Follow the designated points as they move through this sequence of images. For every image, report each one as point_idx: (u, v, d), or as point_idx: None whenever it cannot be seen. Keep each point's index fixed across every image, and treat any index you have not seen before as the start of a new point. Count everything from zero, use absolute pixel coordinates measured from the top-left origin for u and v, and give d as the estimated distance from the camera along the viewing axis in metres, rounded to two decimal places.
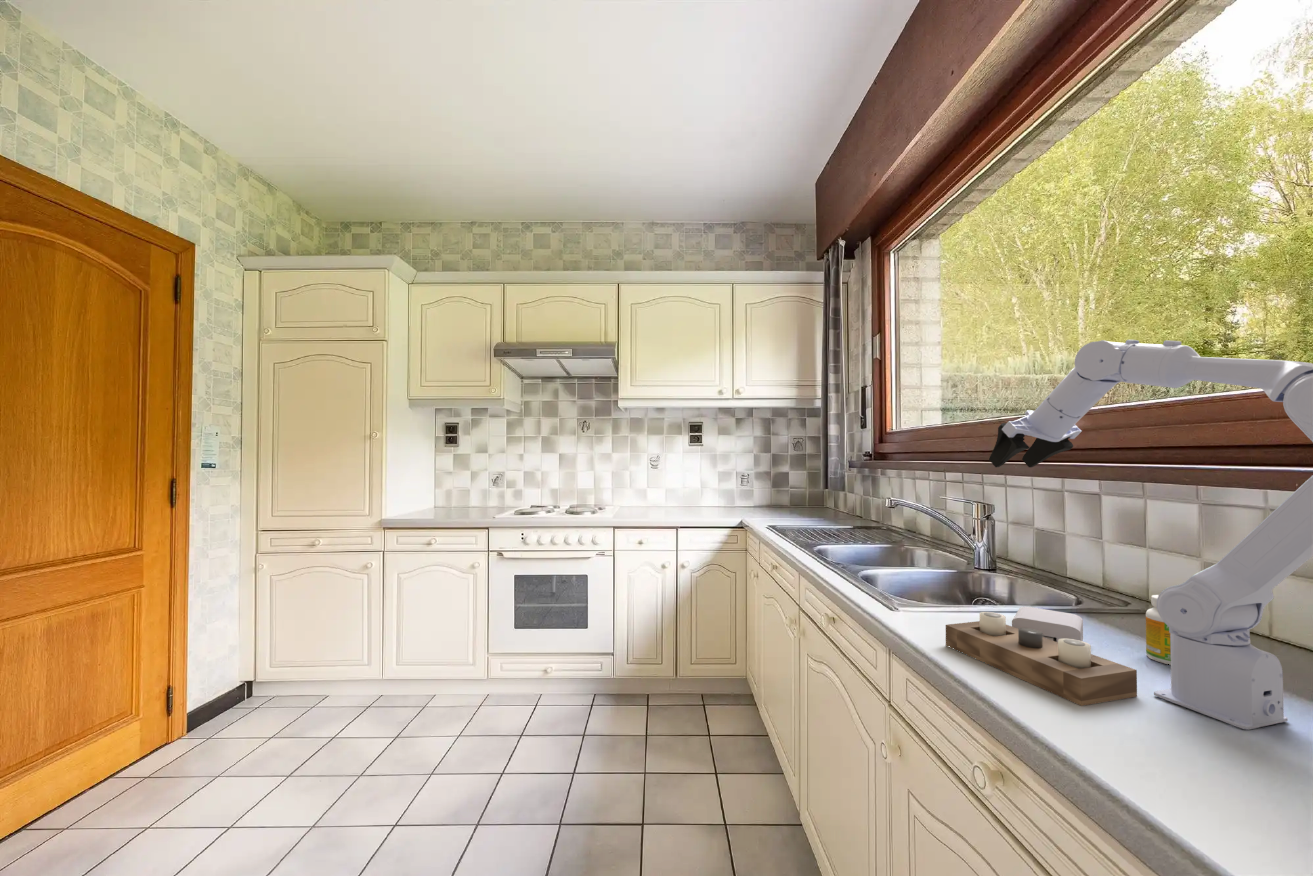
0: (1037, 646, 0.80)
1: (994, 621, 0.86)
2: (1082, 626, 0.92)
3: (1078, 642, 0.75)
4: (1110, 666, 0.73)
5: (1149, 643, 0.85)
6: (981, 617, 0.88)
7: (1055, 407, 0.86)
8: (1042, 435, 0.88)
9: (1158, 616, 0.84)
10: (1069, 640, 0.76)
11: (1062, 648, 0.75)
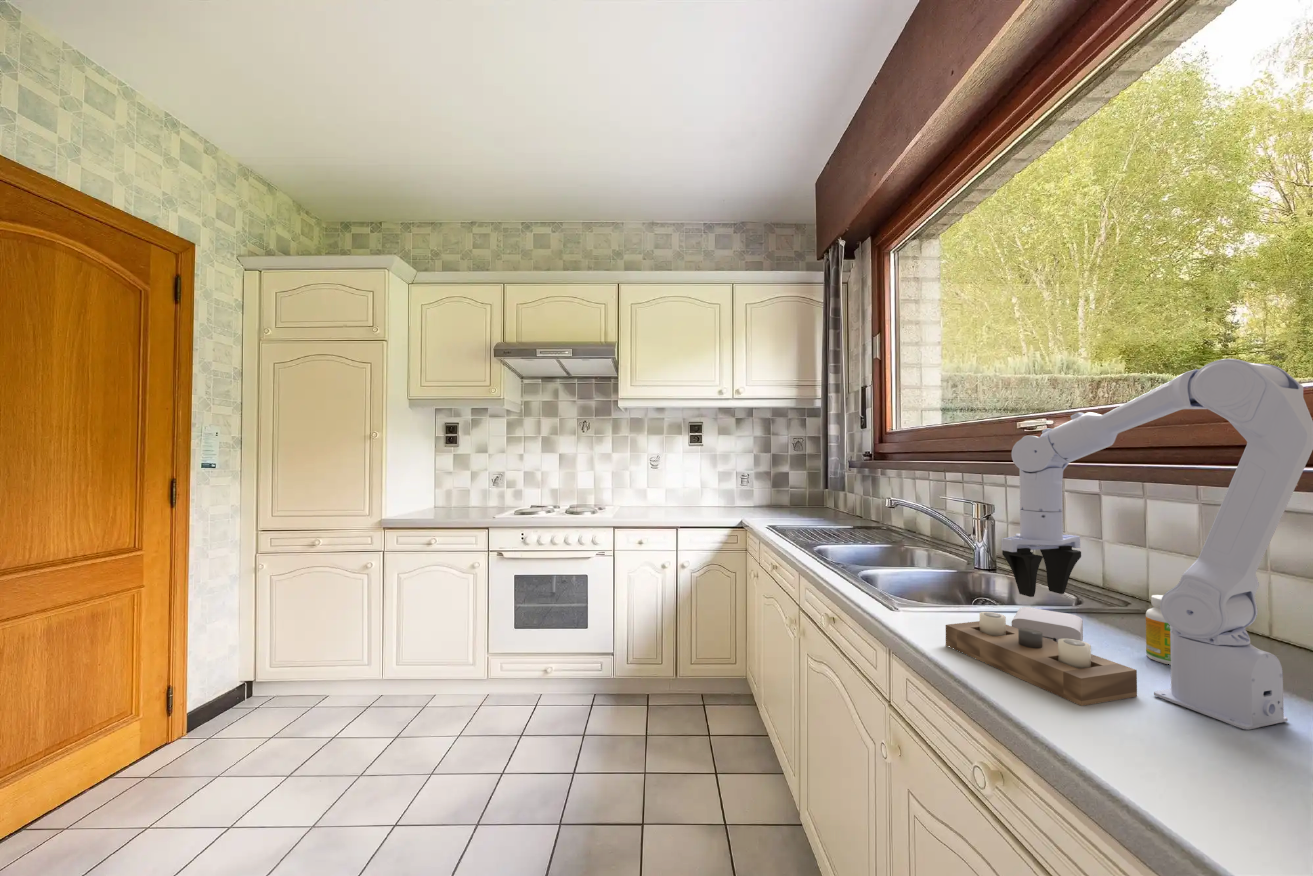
0: (1037, 646, 0.80)
1: (994, 621, 0.86)
2: (1082, 627, 0.91)
3: (1078, 642, 0.75)
4: (1110, 666, 0.73)
5: (1149, 643, 0.85)
6: (981, 617, 0.88)
7: (1031, 509, 0.87)
8: (1041, 540, 0.85)
9: (1158, 616, 0.84)
10: (1069, 640, 0.76)
11: (1062, 648, 0.75)
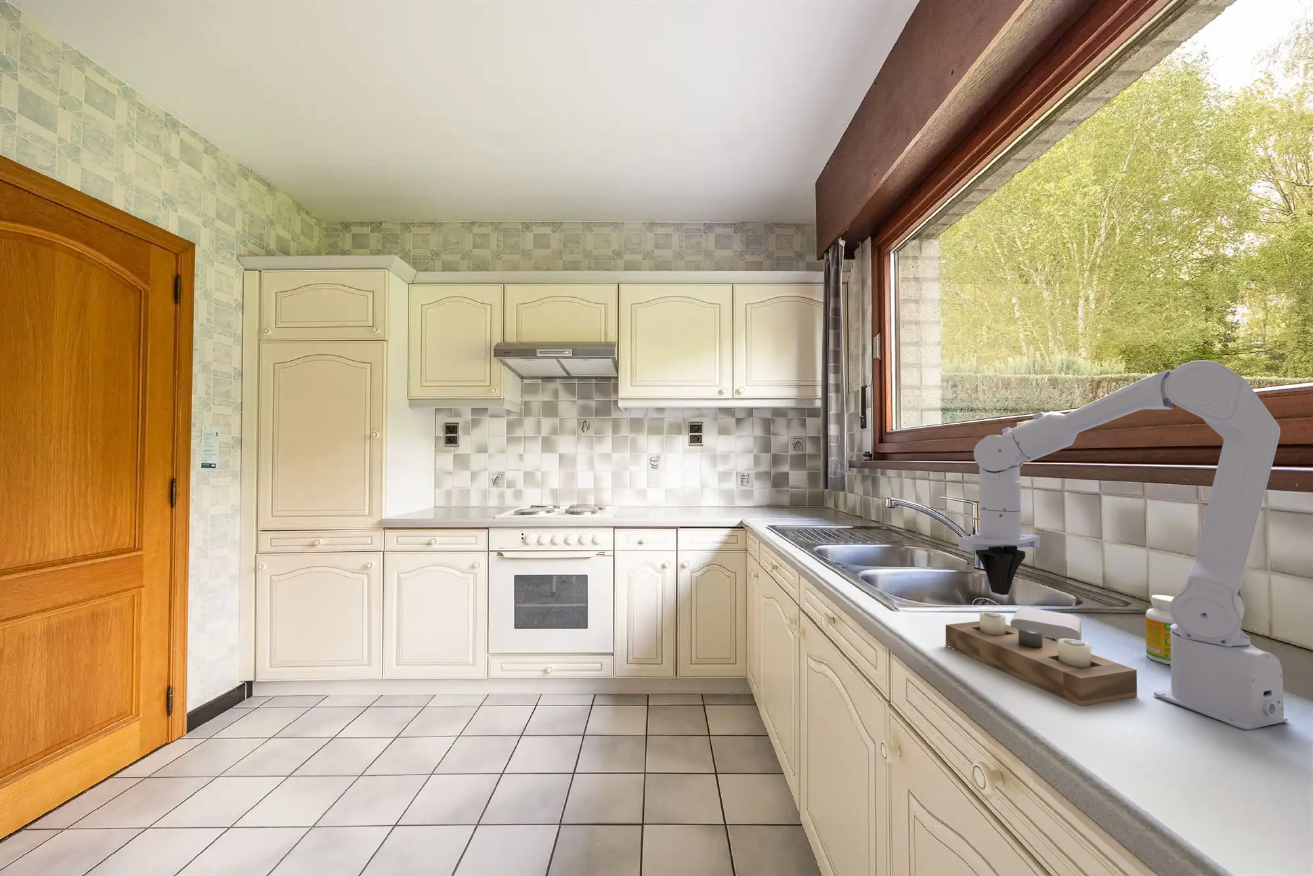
0: (1037, 646, 0.80)
1: (994, 621, 0.86)
2: None
3: (1078, 642, 0.75)
4: (1110, 666, 0.73)
5: (1149, 643, 0.85)
6: (981, 617, 0.88)
7: (989, 509, 0.87)
8: (998, 540, 0.85)
9: (1158, 616, 0.84)
10: (1069, 640, 0.76)
11: (1062, 648, 0.75)
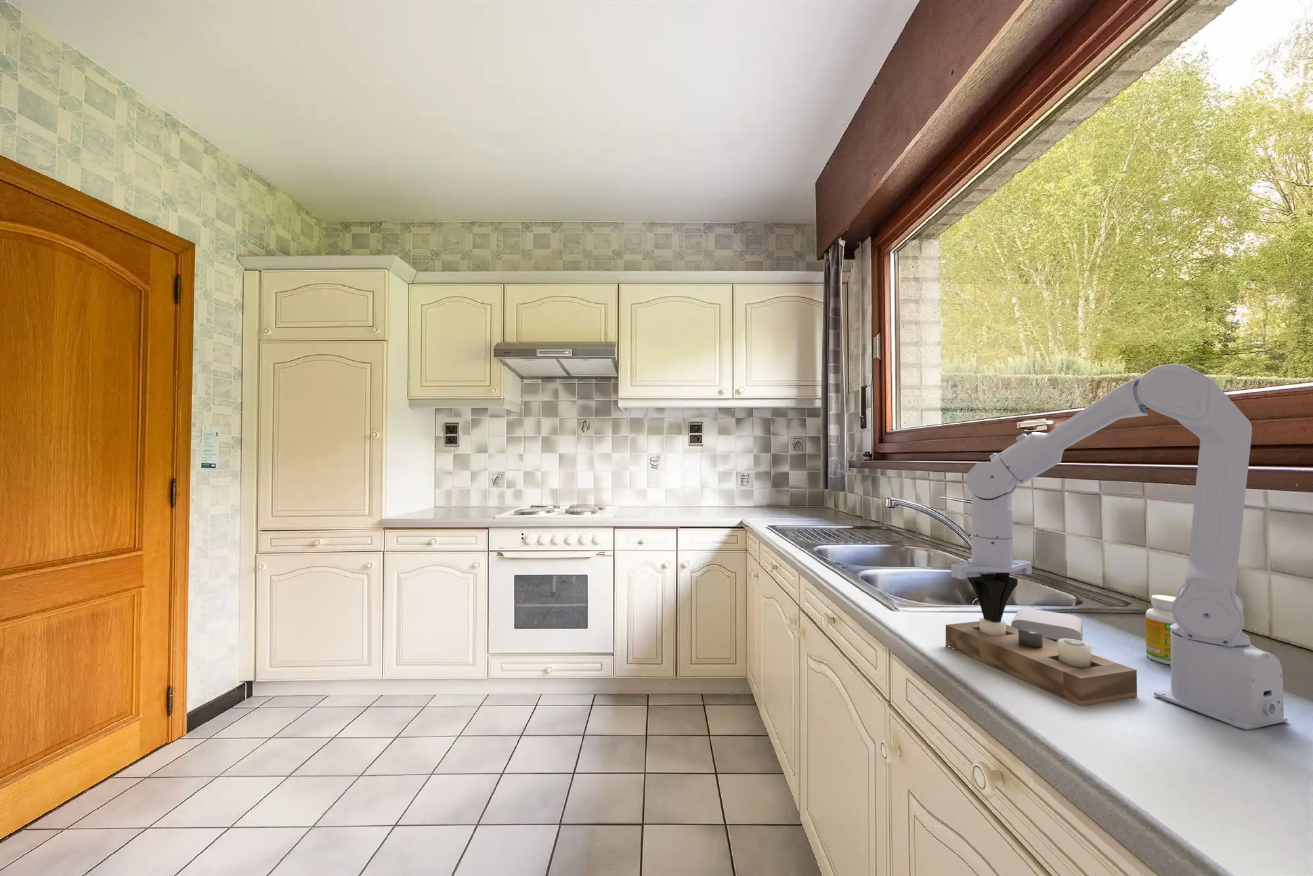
0: (1037, 646, 0.80)
1: (994, 626, 0.86)
2: None
3: (1078, 642, 0.75)
4: (1110, 666, 0.73)
5: (1149, 643, 0.85)
6: (981, 623, 0.88)
7: (981, 536, 0.87)
8: (990, 568, 0.85)
9: (1158, 616, 0.84)
10: (1069, 640, 0.76)
11: (1062, 648, 0.75)
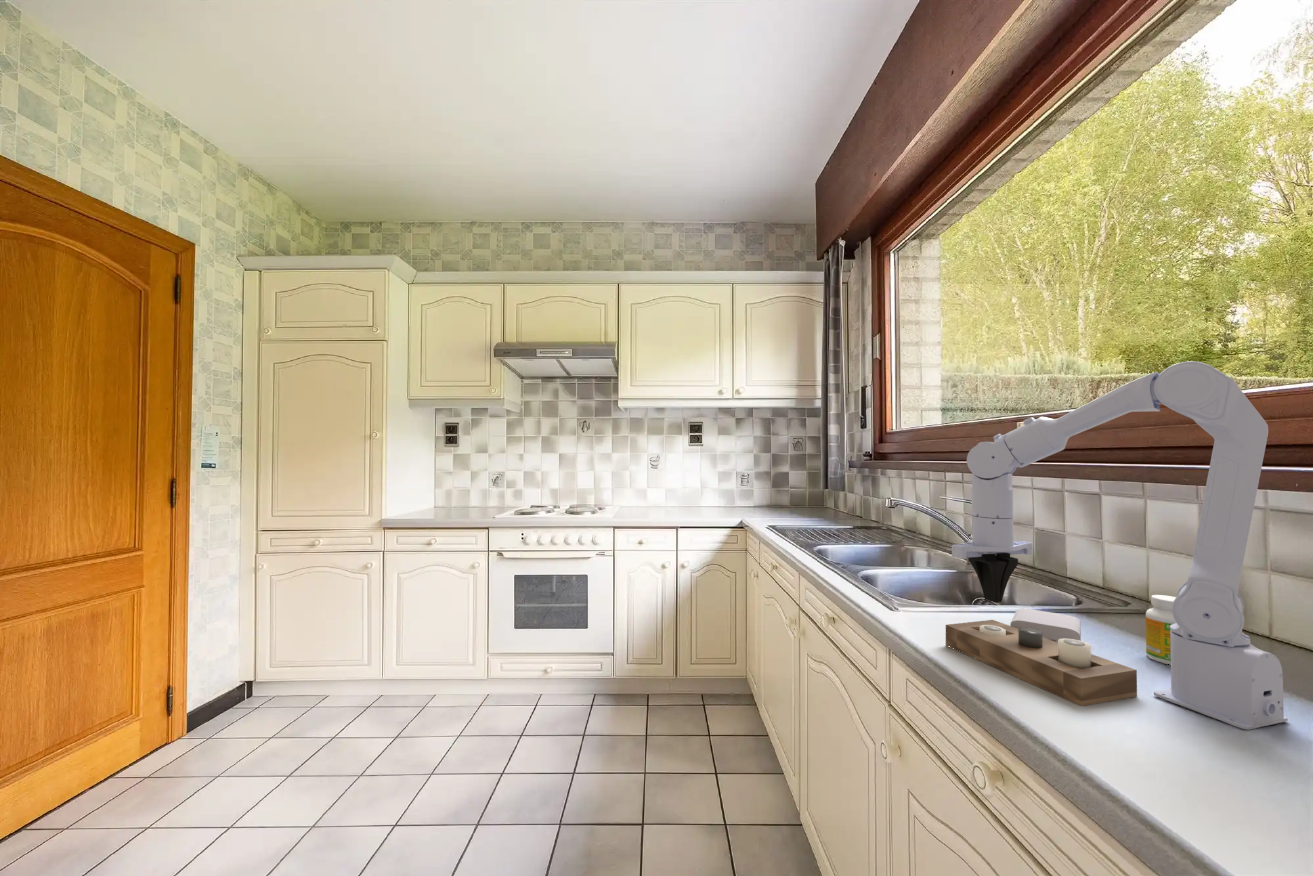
0: (1037, 646, 0.80)
1: (994, 634, 0.86)
2: None
3: (1078, 642, 0.75)
4: (1110, 666, 0.73)
5: (1149, 643, 0.85)
6: (981, 630, 0.88)
7: (982, 516, 0.87)
8: (991, 547, 0.85)
9: (1158, 616, 0.84)
10: (1069, 640, 0.76)
11: (1062, 648, 0.75)
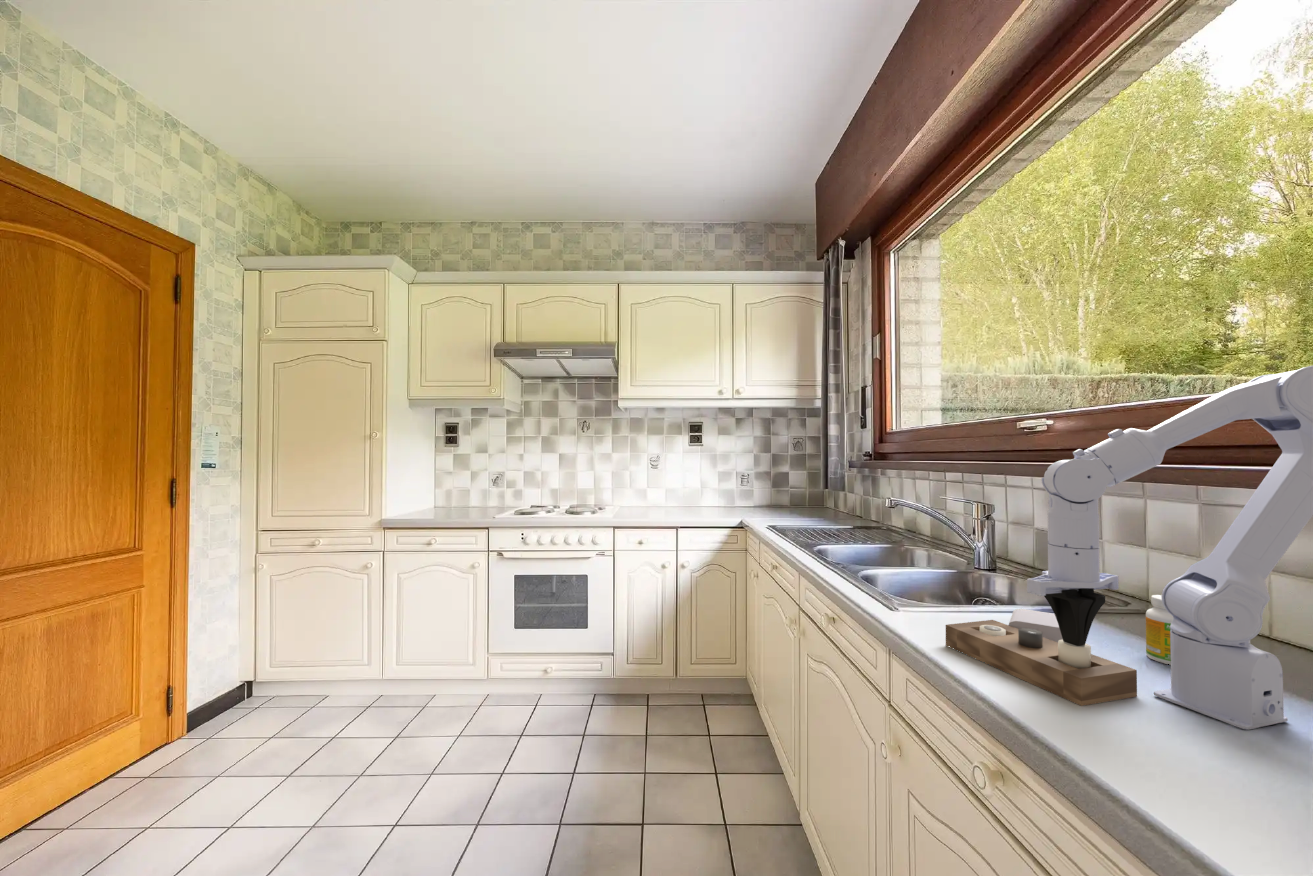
0: (1037, 646, 0.80)
1: (994, 634, 0.86)
2: None
3: None
4: (1110, 666, 0.73)
5: (1149, 643, 0.85)
6: (981, 630, 0.88)
7: (1062, 545, 0.74)
8: (1075, 583, 0.73)
9: (1158, 616, 0.84)
10: None
11: (1062, 650, 0.75)
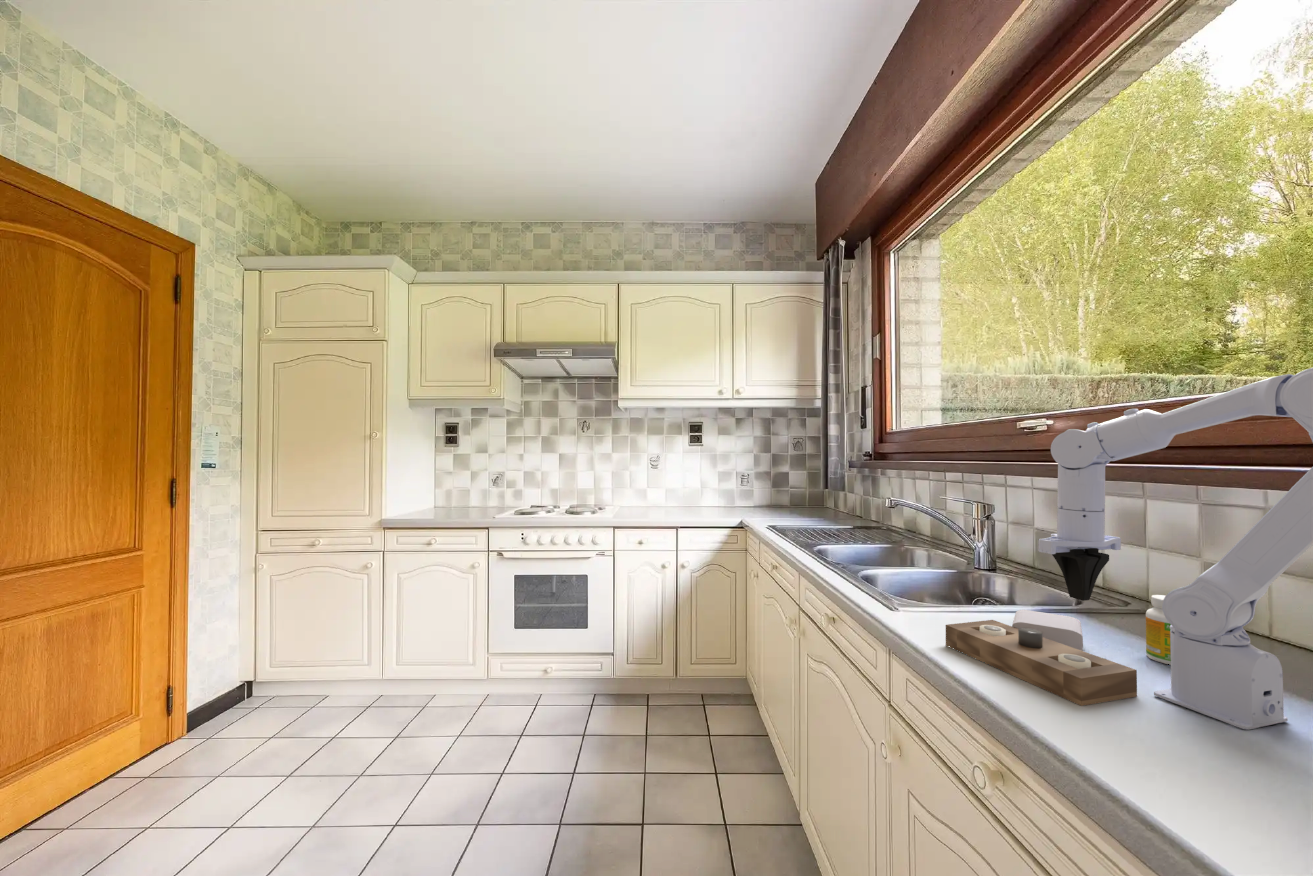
0: (1037, 646, 0.80)
1: (994, 634, 0.86)
2: None
3: (1078, 658, 0.75)
4: (1110, 666, 0.73)
5: (1149, 643, 0.85)
6: (981, 630, 0.88)
7: (1071, 509, 0.81)
8: (1082, 542, 0.79)
9: (1158, 616, 0.84)
10: (1069, 655, 0.76)
11: None
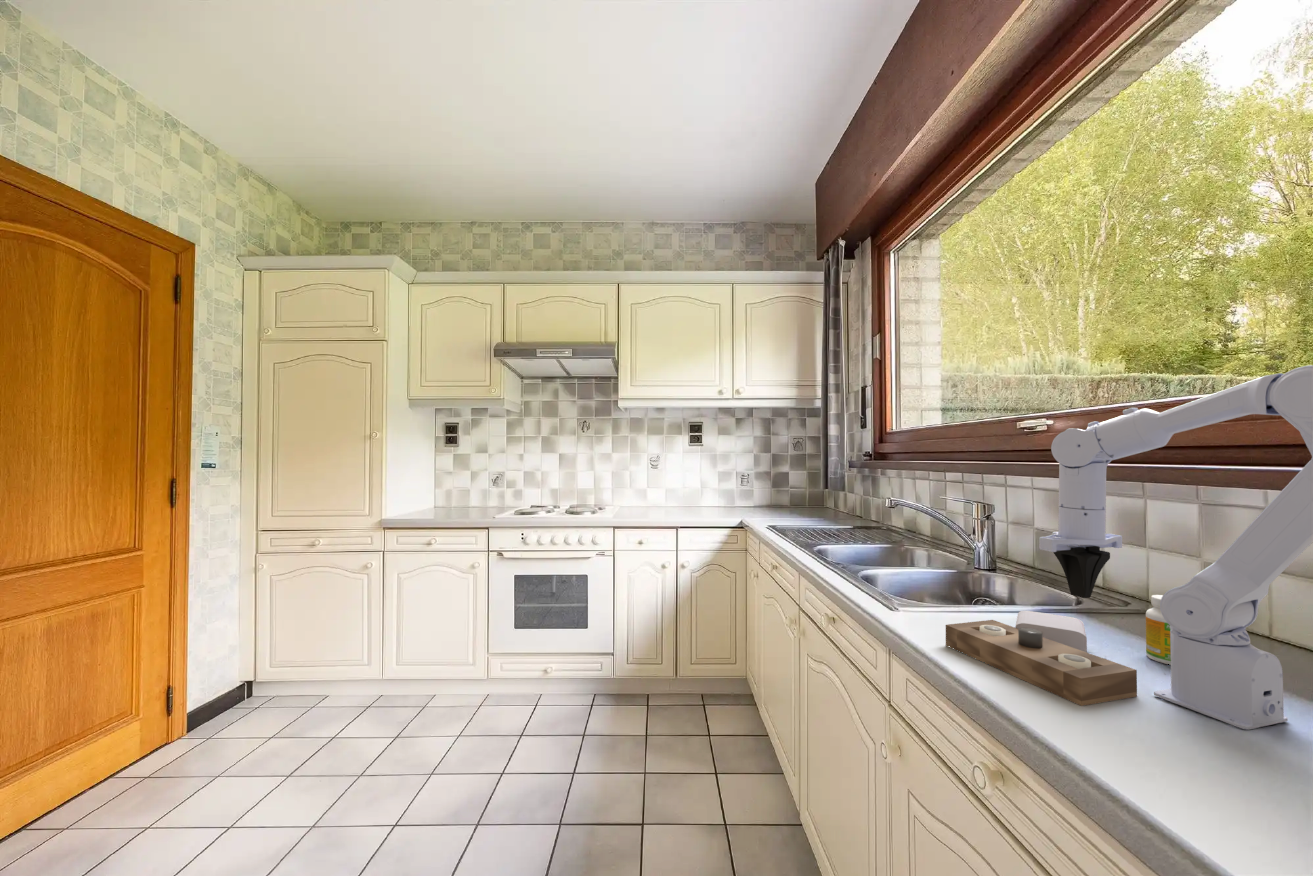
0: (1037, 646, 0.80)
1: (994, 634, 0.86)
2: None
3: (1078, 658, 0.75)
4: (1110, 666, 0.73)
5: (1149, 643, 0.85)
6: (981, 630, 0.88)
7: (1072, 507, 0.82)
8: (1083, 540, 0.80)
9: (1158, 616, 0.84)
10: (1069, 655, 0.76)
11: None
